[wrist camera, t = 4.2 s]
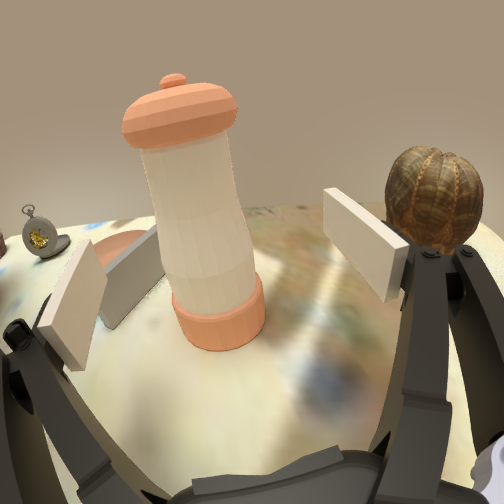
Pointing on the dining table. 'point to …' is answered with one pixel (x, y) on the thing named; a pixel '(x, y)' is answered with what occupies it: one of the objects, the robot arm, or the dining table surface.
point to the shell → (434, 198)
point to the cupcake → (2, 245)
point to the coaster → (115, 245)
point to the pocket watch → (42, 236)
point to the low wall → (131, 277)
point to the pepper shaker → (198, 210)
